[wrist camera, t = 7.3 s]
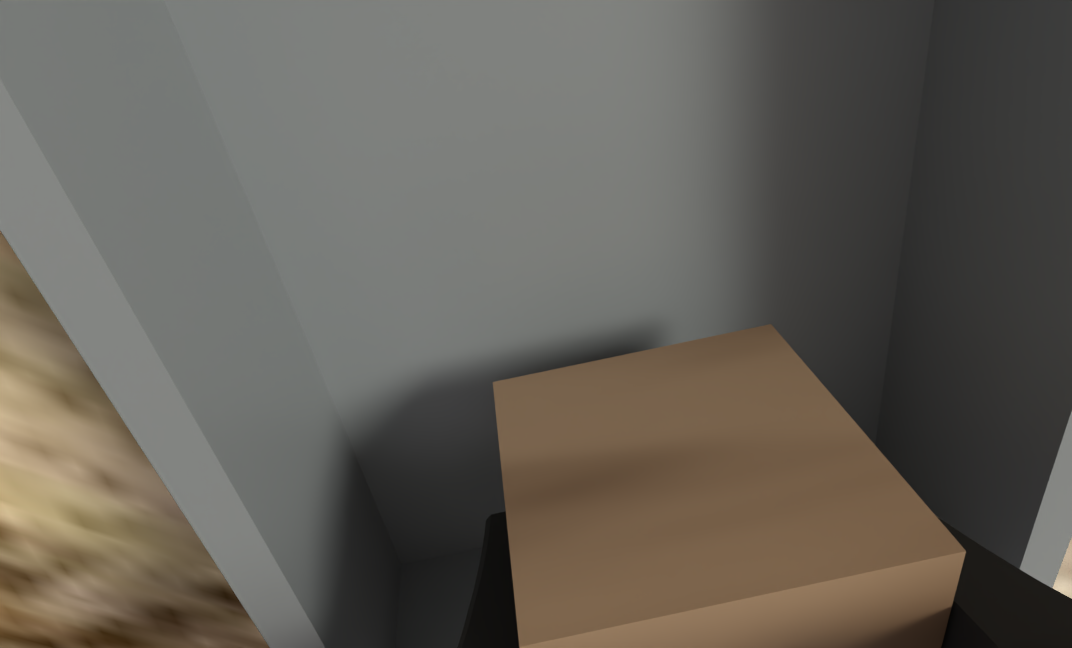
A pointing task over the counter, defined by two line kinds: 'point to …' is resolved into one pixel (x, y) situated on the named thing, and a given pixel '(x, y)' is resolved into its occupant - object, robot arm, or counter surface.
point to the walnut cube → (711, 508)
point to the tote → (535, 251)
